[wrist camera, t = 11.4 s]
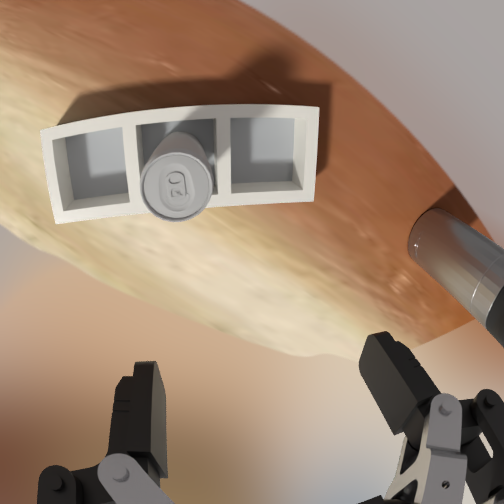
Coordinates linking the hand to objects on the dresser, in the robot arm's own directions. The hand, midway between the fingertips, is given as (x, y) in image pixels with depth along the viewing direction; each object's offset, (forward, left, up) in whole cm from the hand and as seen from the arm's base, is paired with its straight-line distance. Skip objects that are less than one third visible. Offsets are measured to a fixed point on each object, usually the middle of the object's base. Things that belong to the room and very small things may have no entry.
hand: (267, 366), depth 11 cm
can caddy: (+3, -4, -24) cm, 24 cm away
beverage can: (+3, -4, -23) cm, 24 cm away
